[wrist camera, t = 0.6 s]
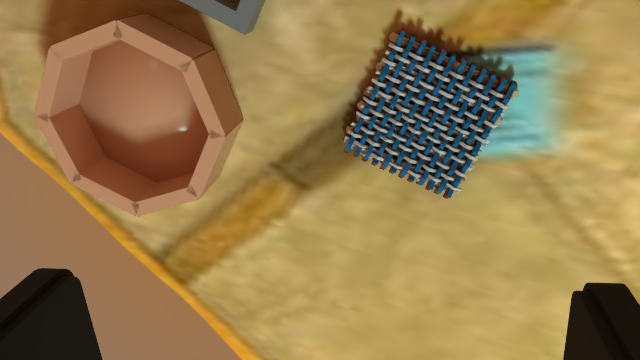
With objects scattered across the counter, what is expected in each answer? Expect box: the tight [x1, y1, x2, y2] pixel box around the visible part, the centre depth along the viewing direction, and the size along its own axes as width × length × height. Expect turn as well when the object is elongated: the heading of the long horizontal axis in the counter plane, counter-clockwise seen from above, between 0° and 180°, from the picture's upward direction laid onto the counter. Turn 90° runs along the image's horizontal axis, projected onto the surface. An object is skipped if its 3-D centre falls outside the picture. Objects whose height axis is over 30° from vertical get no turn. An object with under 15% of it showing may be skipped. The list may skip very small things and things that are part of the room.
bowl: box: [34, 14, 243, 216], centre depth 42 cm, size 14×14×4 cm
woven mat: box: [344, 28, 519, 199], centre depth 40 cm, size 10×11×2 cm
